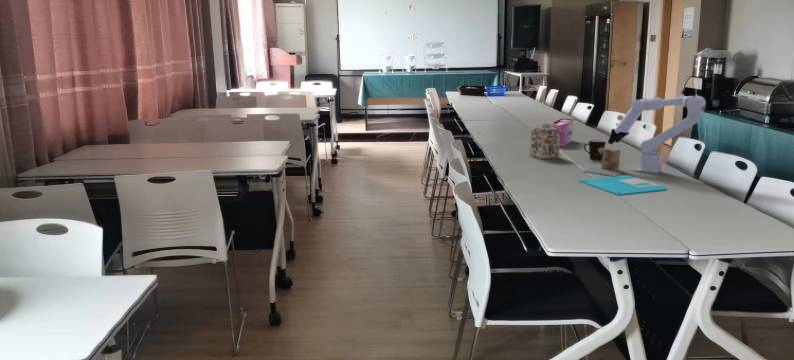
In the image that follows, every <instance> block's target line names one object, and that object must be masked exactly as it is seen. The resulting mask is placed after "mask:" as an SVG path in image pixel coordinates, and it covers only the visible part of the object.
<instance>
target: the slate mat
mask: <svg viewBox="0 0 794 360" xmlns="http://www.w3.org/2000/svg"><path fill="white" fill-rule="evenodd" d="M582 172H583V173H589V174H593V175H594V174H595V175H601V176H602V175H603V176H606V177H607V176H608V177H616V176H622V174H623V175H624V171H619V170H617V171H611V170H604V169H602V168H597V167H590V168H587V169H584V170H583V171H582Z"/></svg>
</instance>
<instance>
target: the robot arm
mask: <svg viewBox="0 0 794 360" xmlns="http://www.w3.org/2000/svg"><path fill="white" fill-rule="evenodd" d="M678 105H679V106H680V105H681V106H682V107H684V108H686V109H687V112H686V113H687V115H686V117H685V118H684V119H683V118H682V120H680V121H678V122H677V123H675V124H674V125H672V126H671V127H669V128H668V129H666V130H664V131H662V132H661V133H659V134H658V135H656V136H655V137H650V138H648V139H646V140H644V141H642V142H641V144H640V150H641V153H640V162H639V163H640V165H639V168H638V169H636V172H637V171H638V172H645V173H650V174H658V173H660V172H662V165H663V164H662V163H663V155H662V154H661V153H658V149H659V148H660V146H661V145H663V144H664V143H666V142H667V141H669V140H670V139H671V140H672V138H674V137H675V136H677V135H680V134H681V133H682V132H684V131H686V130H687V129H689V128H690V127H692V126H693V125H696V124H697V123H698V122H699V121H700V118H701V117H702V115H703V113H704V111H705V110H706V105H707V102H706V99H705V97H703V96H702V95H696V96H694V95H688V96H686V95H684V96H677V97H670V98H665V99H663V98H662V97H660V96H659V97H658V96H656V95H655V96H653V97H649V98H647V97H643V98H641V99H636V100H635V101H633V103H632V105H631V107H630V108H629V110H628V111H627V112H626V114H625V115H624V116H623V118H622V119H621V120H620V122H617V123H615V125H616V128H611V132H610V136H609V139H608V141H607V143H608V144H609V145H613V144H614V143H617V144H618V143H619V142H620V141H622V139H623V138H625V137H626V136H628V135H630V133H629V131H630V130H631V129H632V127H633V125H634V124H635V123H636V121H637V120H638V119H639V117H640V115H641V114H642V112H644V111H655V110H661V109H662V108H663V107H664V106H665V107H667V106H669V107H670V106H678Z"/></svg>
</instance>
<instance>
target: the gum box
mask: <svg viewBox="0 0 794 360" xmlns="http://www.w3.org/2000/svg"><path fill="white" fill-rule="evenodd" d="M573 121H574V119H573V118H559V119H558V120H556V121H553V123H552V127H555V128H557V129H558V130H559V132H560V134H561V135H560V147H565V146H566V145H568V144H570V143H571V142H572V140H573V127H574V126H573V125H574V124H573V123H574V122H573Z"/></svg>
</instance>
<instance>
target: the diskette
mask: <svg viewBox="0 0 794 360" xmlns="http://www.w3.org/2000/svg"><path fill="white" fill-rule="evenodd" d="M579 183H583V184H585V185H587V186H590V187H593V188H596V189H599V190H600V191H601V190H602V191H604V192H607V193H609V194H613V195H615V196H626V195H635V194H644V193H654V192H662V191H666V190H667V187H666V186H663V185H660V184H658V183H654V182H652V181H648V180H644V179H642V178H638V177H634V176H632V175H618V176H616V177H614V176H608V177H607V176H606V177H597V178H588V179H579Z"/></svg>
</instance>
